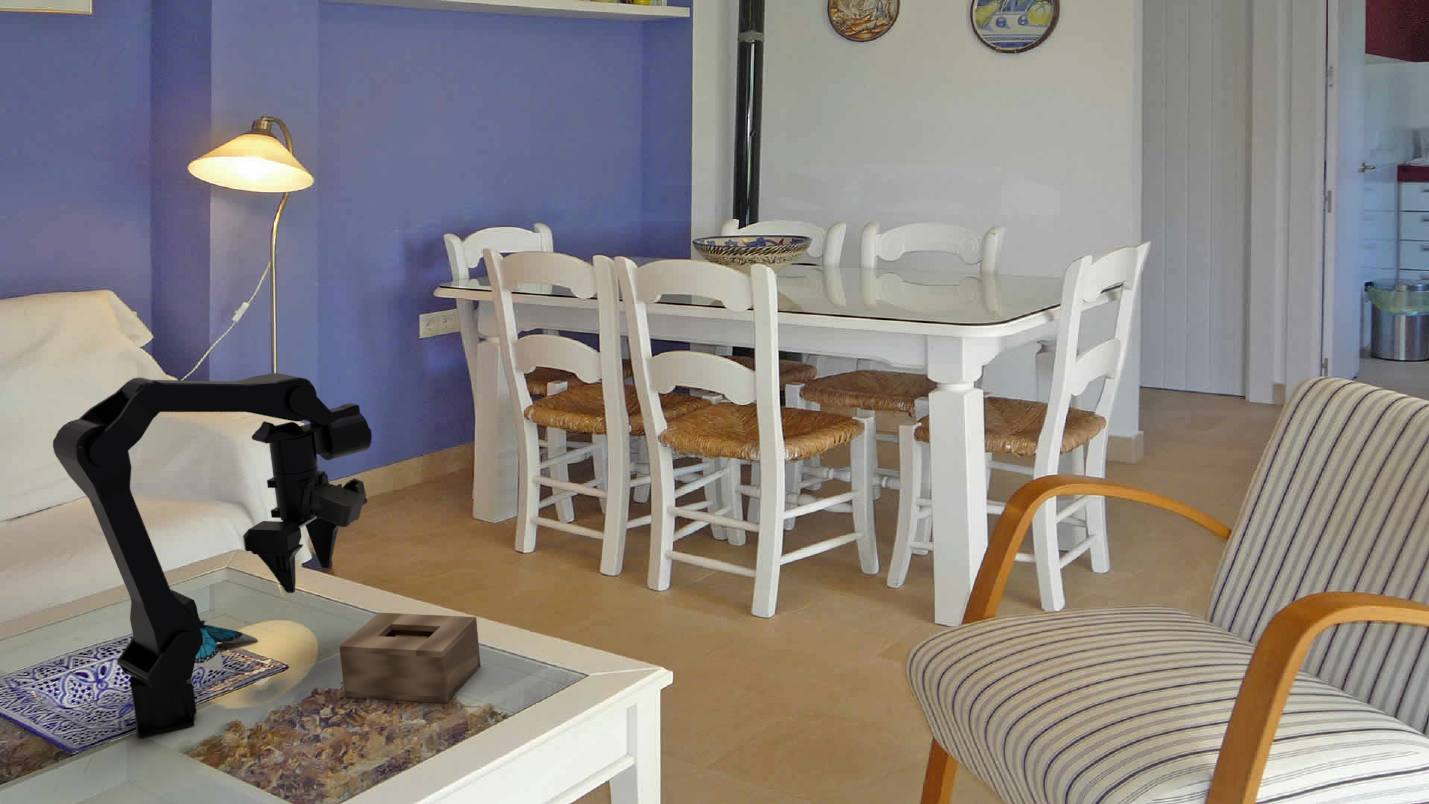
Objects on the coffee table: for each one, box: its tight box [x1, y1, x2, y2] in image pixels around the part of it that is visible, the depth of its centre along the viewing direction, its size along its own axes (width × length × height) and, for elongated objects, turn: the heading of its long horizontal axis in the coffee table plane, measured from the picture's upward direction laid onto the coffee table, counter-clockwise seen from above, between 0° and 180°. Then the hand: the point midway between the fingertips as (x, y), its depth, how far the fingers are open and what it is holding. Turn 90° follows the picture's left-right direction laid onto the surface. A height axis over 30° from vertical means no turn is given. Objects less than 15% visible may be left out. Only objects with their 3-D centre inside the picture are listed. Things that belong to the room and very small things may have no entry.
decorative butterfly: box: [194, 612, 259, 672], centre depth 175 cm, size 10×6×10 cm
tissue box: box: [338, 612, 482, 704], centre depth 164 cm, size 14×11×7 cm
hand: (308, 579), depth 169 cm, fingers open, 9 cm apart
